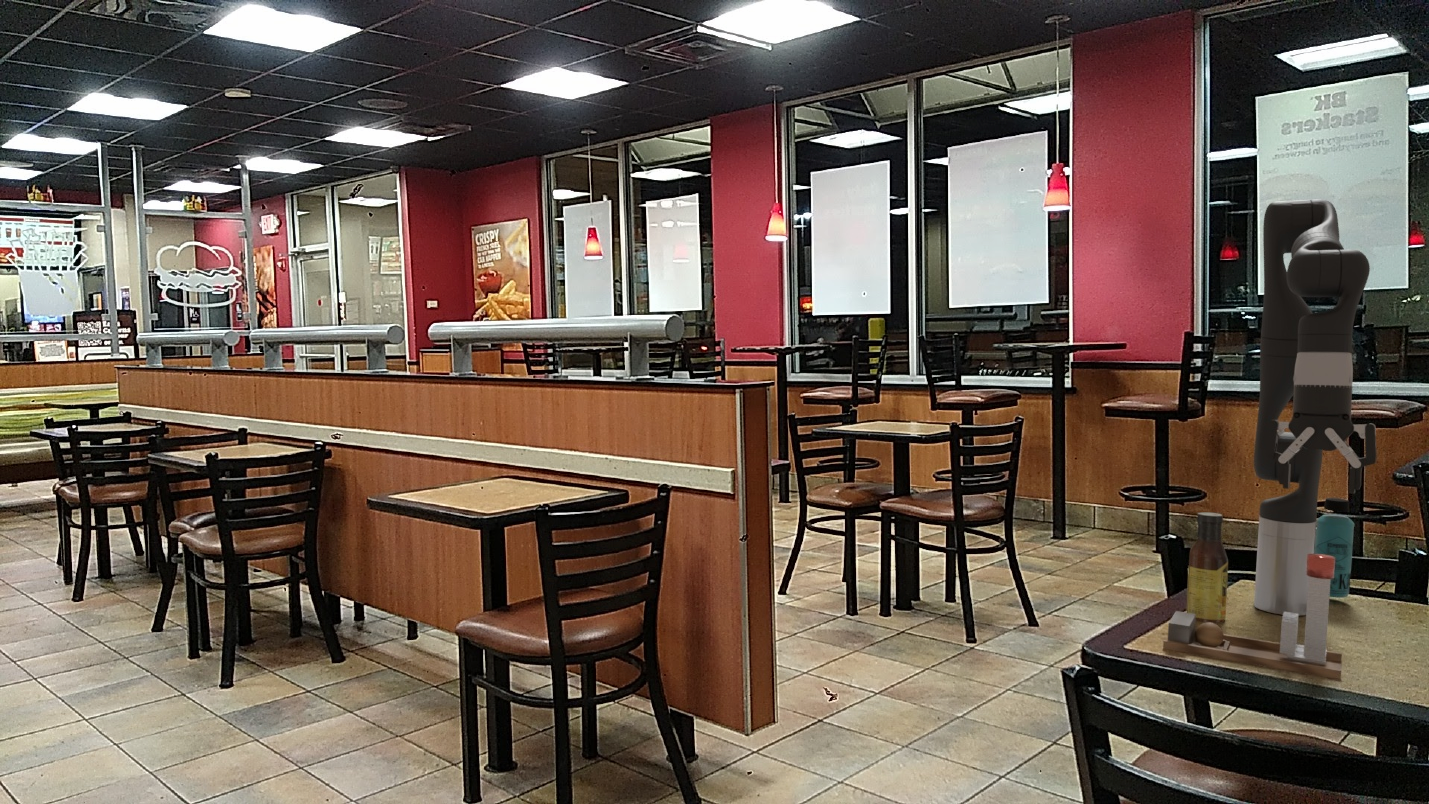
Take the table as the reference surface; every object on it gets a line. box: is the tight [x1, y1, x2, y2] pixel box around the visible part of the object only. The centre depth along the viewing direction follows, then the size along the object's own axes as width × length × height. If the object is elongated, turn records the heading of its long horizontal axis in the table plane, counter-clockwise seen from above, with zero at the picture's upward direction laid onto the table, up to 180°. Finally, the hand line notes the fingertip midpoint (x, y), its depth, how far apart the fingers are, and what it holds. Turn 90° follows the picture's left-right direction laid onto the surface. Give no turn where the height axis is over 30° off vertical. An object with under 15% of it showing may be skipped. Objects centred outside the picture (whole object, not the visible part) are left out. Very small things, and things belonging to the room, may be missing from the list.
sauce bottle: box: [1186, 511, 1229, 624], centre depth 177 cm, size 6×6×20 cm
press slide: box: [1279, 554, 1335, 667], centre depth 153 cm, size 6×7×16 cm
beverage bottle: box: [1314, 497, 1356, 598], centre depth 194 cm, size 6×7×20 cm
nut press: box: [1162, 610, 1343, 681], centre depth 158 cm, size 24×10×6 cm, turn 58°
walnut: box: [1196, 622, 1224, 647], centre depth 161 cm, size 4×4×4 cm
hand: (1318, 490), depth 152 cm, fingers open, 8 cm apart
